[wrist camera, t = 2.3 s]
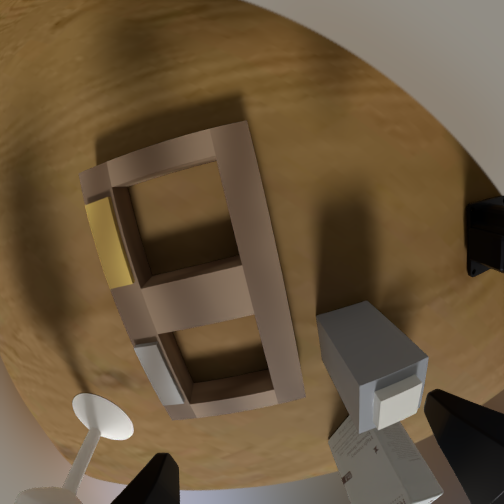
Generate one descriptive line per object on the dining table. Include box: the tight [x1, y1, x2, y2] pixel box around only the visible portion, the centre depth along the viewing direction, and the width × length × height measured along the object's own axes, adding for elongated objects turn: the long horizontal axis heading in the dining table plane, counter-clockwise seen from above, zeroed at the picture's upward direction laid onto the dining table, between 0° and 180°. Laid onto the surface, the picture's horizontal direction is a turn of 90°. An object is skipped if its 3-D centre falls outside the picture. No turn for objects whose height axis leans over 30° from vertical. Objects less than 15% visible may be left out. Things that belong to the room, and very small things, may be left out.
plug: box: [316, 301, 428, 434], centre depth 15 cm, size 4×4×9 cm
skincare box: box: [328, 415, 443, 504], centre depth 16 cm, size 6×4×12 cm
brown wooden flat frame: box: [79, 120, 306, 420], centre depth 17 cm, size 10×18×3 cm, turn 13°
